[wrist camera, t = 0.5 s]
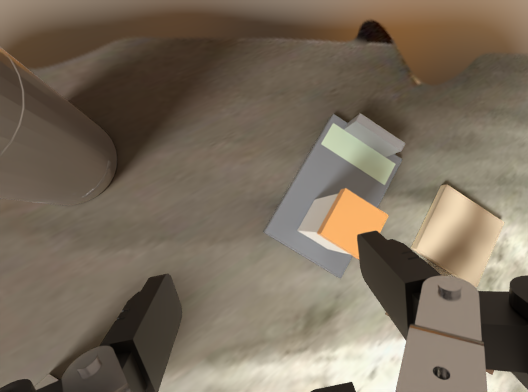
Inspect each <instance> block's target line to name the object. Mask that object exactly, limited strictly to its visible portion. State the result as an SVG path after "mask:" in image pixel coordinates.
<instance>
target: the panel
mask: <svg viewBox="0 0 528 392" xmlns="http://www.w3.org/2000/svg"><path fill="white" fill-rule="evenodd" d="M404 145H405V143H404V142H403V141H401V140H400V139H398V138H397V137H395V136H394V135H392V134H391V133H389V132H388V131H386V130H385V129H383V128H382V127H380V126H379V125H377V124H376V123H374V122H373V121H371V120H370V119H368V118H367V117H365V116H364V115H362V114H361V113H360V114H359V115H357V116H356V117H355V118H353V119H352V120H351V121H350V122H348V123H347V122H345V121H344V120H342V119H341V118H339V117H338V116H336V115H335V114H333V115H332V116H331V117H330V118H329V120H328V122H327V123H326V125H325V127H324V129H323V130H322V132H321V134H320V135H319V137H318V139H317V141H316V142H315V144H314V146H313V147H312V149H311V151H310V152H309V154H308V156H307V158H306V159H305V161H304V163H303V164H302V166H301V168H300V170H299V171H298V173H297V175H296V176H295V178H294V180H293V182H292V183H291V185H290V187H289V188H288V190H287V192H286V193H285V195H284V197H283V199H282V200H281V202H280V204H279V205H278V207H277V209H276V211H275V212H274V214H273V216H272V217H271V219H270V221H269V223H268V224H267V226H266V228H265V229H264V231H263V232H264V233H265V234H267V235H269V236H270V237H272V238H274V239H275V240H277V241H279V242H280V243H282V244H284V245H285V246H287V247H289V248H290V249H292V250H293V251H295V252H297V253H298V254H300V255H302V256H303V257H305V258H307V259H308V260H310V261H312V262H313V263H315V264H317V265H318V266H320V267H322V268H323V269H325V270H327V271H328V272H330V273H332V274H333V275H335V276H336V277H338V278H341V277H342V275H343V274H344V272H345V270H346V268H347V266H348V264H349V262H350V260H351V258H352V255H350V254H345V253H341V252H337V251H333V250H329V249H326V248H325V247H323V246H322V245H320V244H318V243H317V242H315V241H313V240H312V239H310V238H309V237H307V236H305V235H304V234H302V233H300V232H299V231H297V230H298V228H299V226H300V225H301V223H302V221H303V219H304V218H305V216H306V214H307V212H308V210H309V209H310V207H311V205H312V203H313V202H314V200H315V199H319V198H323V197H326V196H330V195H334V194H338V193H339V192H340V190H341V189H344V188H346V189H348V190H350V191H351V192H353V193H354V194H356V195H357V196H359V197H360V198H362V199H364V200H365V201H367V202H368V203H370V204H371V205H373V206H375V207H376V208H378V206H379V204H380V202H381V200H382V198H383V196H384V194H385V192H386V190H387V188H388V187H389V185H390V183H391V181H392V179H393V177H394V175H395V173H396V171H397V169H398V167H399V165H400V163H401V161H402V159H401V158H400V157H398V156H397V155H395V153H398V152H400V151H402V149H403V147H404Z"/></svg>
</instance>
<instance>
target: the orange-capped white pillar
mask: <svg viewBox="0 0 528 392" xmlns="http://www.w3.org/2000/svg"><path fill="white" fill-rule="evenodd" d="M388 216H389V215H387V214H386V213H384V212H382V211H381V210H379V209H378V208H376V207H375V206H373V205H371V204H370V203H368V202H367V201H365V200H364V199H362V198H360V197H359V196H357V195H356V194H354V193H353V192H351V191H350V190H348V189H346V188H344V189H341V190H340V192H339V193H338V194H334V195H330V196H326V197H323V198H319V199H315V200H314V202H313V203H312V205H311V207H310V209H309V210H308V212H307V214H306V216H305V218H304V219H303V221H302V223H301V225H300V226H299V228H298V230H297V231H299V232H300V233H302V234H304V235H305V236H307V237H309V238H310V239H312V240H313V241H315V242H317V243H318V244H320V245H322V246H323V247H325V248H326V249H329V250H333V251H337V252H341V253H345V254H350V255H352V256H354V257H355V258H357V259H359V252H358V243H357V235H358V234H361V233H366V232H370V231H375V230H376V231H378V232H379V233H380V232H381V230H382V228H383V226H384V224H385V222H386V220H387V218H388Z"/></svg>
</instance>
